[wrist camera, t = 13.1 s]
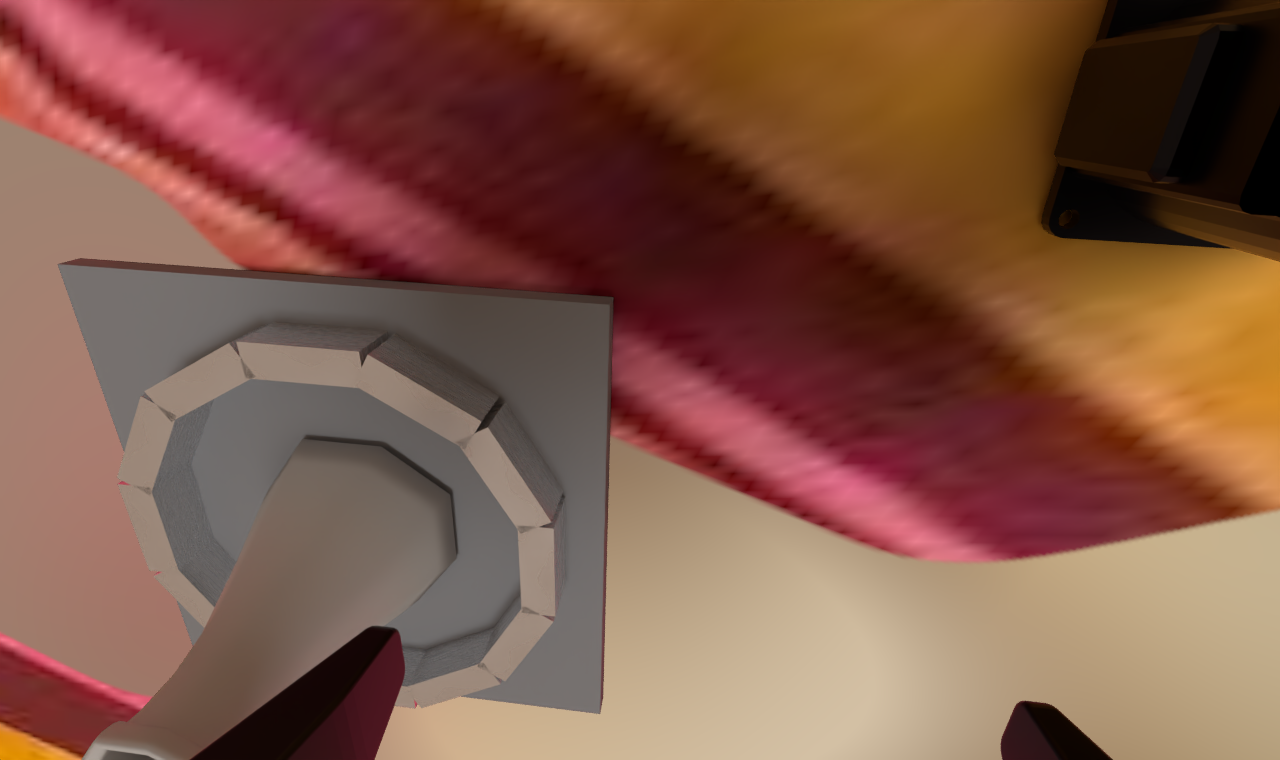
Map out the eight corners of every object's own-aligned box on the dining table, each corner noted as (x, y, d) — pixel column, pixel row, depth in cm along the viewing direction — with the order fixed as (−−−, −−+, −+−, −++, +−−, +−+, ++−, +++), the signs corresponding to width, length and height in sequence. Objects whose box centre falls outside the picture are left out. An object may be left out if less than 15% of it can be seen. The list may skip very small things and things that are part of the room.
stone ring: (564, 344, 19) (550, 367, 18) (567, 686, 26) (557, 726, 24) (111, 308, 20) (59, 327, 19) (221, 644, 27) (189, 679, 25)
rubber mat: (613, 297, 19) (609, 304, 19) (603, 697, 27) (600, 713, 26) (80, 258, 21) (57, 264, 20) (212, 649, 28) (199, 664, 27)
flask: (438, 618, 25) (281, 917, 16) (263, 555, 24) (-2, 825, 15) (483, 479, 22) (320, 751, 13) (284, 404, 21) (-31, 630, 12)
